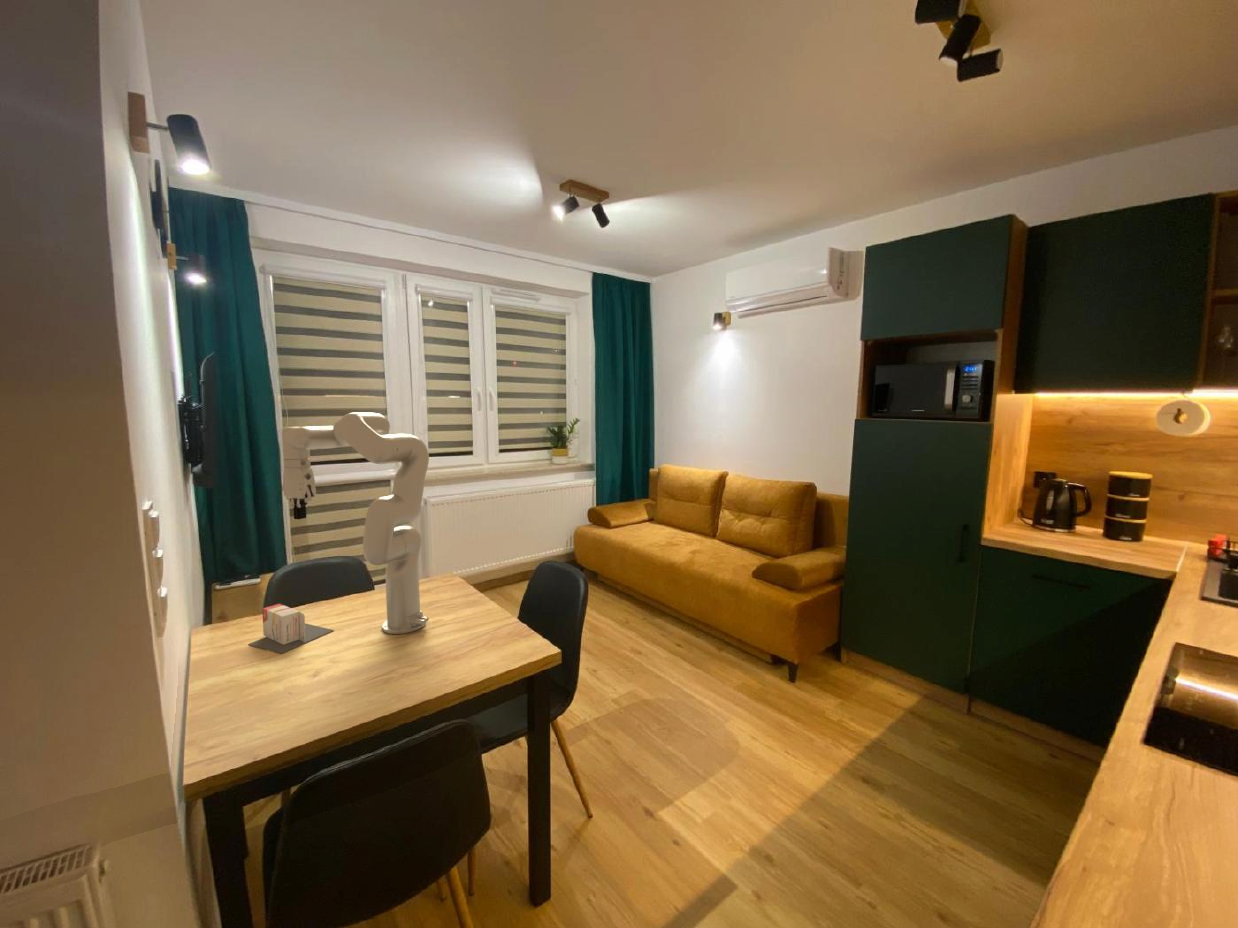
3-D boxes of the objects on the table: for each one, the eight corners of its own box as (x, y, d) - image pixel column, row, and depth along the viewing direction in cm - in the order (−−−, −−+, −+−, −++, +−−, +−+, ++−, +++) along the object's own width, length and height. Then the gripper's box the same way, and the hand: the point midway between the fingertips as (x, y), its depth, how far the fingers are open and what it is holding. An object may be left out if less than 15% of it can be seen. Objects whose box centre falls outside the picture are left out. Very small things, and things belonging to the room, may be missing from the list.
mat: (333, 630, 152) (333, 629, 152) (281, 653, 137) (281, 652, 137) (302, 623, 157) (302, 622, 157) (248, 644, 142) (248, 643, 142)
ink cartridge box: (260, 608, 146) (287, 618, 139) (279, 603, 151) (305, 612, 143) (262, 636, 147) (288, 647, 140) (280, 630, 151) (307, 641, 144)
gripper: (323, 464, 165) (326, 518, 167) (292, 462, 171) (295, 514, 172) (301, 466, 158) (304, 522, 160) (270, 464, 164) (273, 518, 166)
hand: (300, 518), depth 166 cm, fingers closed
